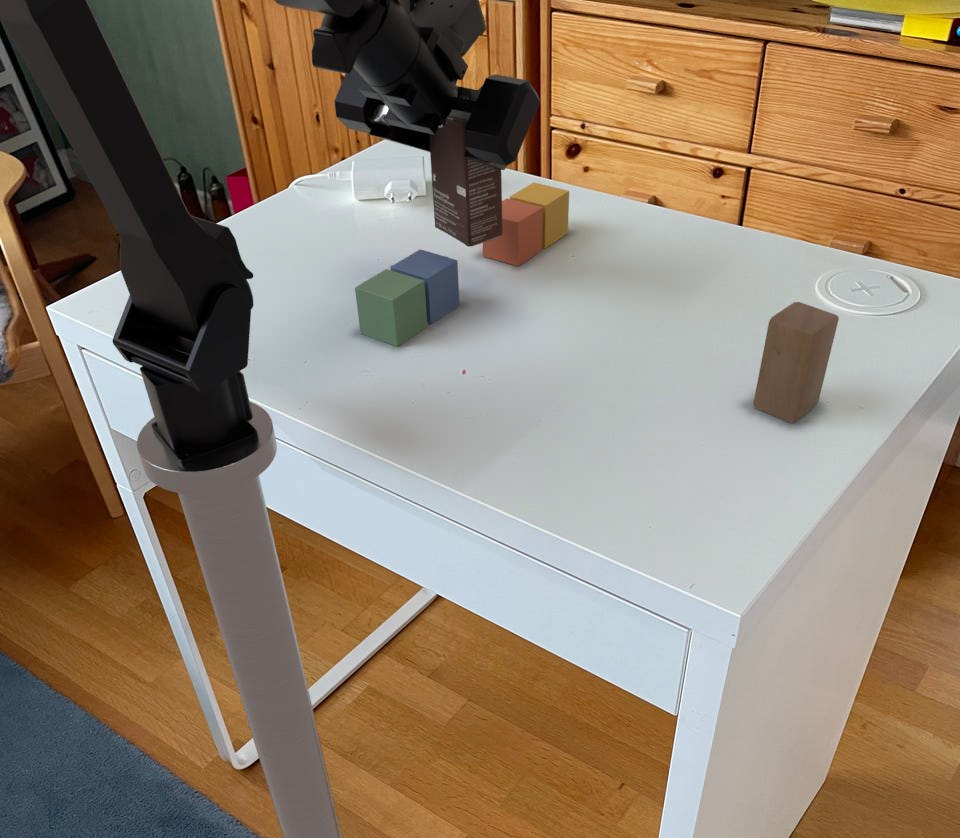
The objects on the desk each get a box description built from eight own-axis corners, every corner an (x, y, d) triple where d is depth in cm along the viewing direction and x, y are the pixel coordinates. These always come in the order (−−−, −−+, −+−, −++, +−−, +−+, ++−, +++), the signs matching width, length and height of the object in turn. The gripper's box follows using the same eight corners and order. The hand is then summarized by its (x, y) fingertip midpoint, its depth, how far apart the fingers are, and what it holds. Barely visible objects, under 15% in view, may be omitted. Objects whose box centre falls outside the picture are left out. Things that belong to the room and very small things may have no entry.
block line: (397, 346, 90) (393, 300, 86) (360, 333, 91) (354, 287, 88) (568, 233, 106) (569, 190, 102) (533, 224, 108) (533, 182, 104)
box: (431, 229, 96) (423, 94, 87) (469, 218, 98) (465, 84, 89) (466, 250, 92) (462, 110, 84) (505, 237, 94) (504, 100, 86)
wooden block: (750, 408, 81) (767, 316, 75) (777, 388, 83) (795, 298, 77) (793, 426, 79) (814, 333, 73) (819, 405, 81) (841, 314, 75)
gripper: (528, -37, 72) (597, 89, 86) (339, -60, 80) (430, 59, 94) (468, 109, 73) (545, 210, 87) (287, 71, 81) (385, 169, 95)
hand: (475, 157), depth 91 cm, fingers closed on box, 7 cm apart
